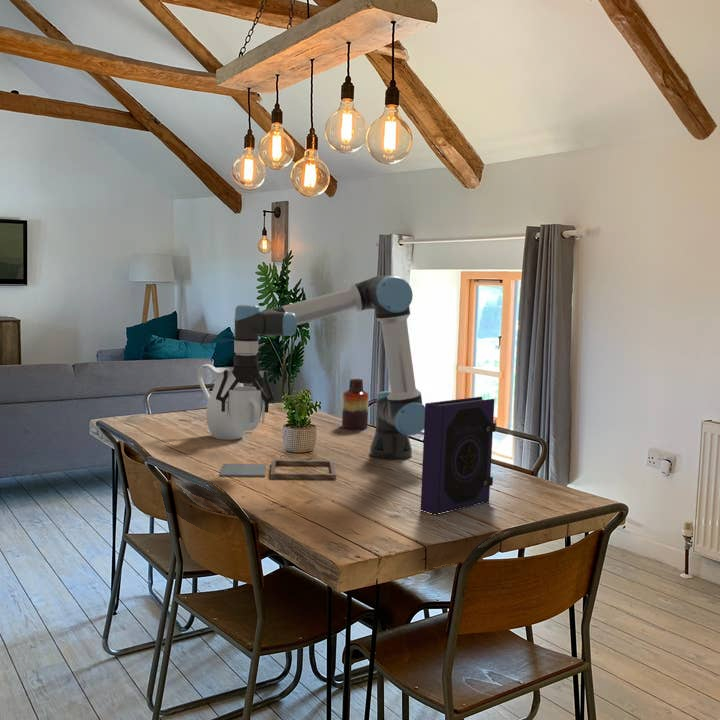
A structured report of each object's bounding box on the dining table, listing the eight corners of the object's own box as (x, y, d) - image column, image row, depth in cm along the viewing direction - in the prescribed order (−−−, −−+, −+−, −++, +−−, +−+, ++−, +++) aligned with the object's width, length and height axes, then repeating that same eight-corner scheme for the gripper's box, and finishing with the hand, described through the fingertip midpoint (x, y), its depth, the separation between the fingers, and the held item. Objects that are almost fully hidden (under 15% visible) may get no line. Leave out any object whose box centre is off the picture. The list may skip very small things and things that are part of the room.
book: (436, 516, 207) (441, 406, 204) (419, 510, 212) (424, 402, 209) (491, 501, 223) (497, 399, 220) (474, 496, 227) (480, 396, 224)
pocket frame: (332, 465, 260) (333, 460, 259) (336, 479, 241) (336, 474, 241) (272, 464, 258) (272, 459, 258) (270, 478, 240) (270, 473, 239)
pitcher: (258, 436, 301) (260, 365, 298) (229, 443, 287) (230, 369, 284) (213, 428, 314) (214, 360, 311) (183, 434, 300) (184, 363, 297)
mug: (273, 432, 243) (274, 391, 241) (241, 435, 237) (242, 393, 235) (253, 424, 255) (253, 385, 254) (222, 427, 249) (222, 387, 248)
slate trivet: (266, 465, 255) (266, 464, 255) (264, 476, 242) (265, 474, 242) (223, 465, 254) (223, 463, 254) (219, 476, 240) (219, 474, 240)
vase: (367, 430, 322) (369, 381, 319) (341, 429, 322) (343, 380, 319) (367, 425, 332) (369, 378, 330) (342, 424, 332) (344, 377, 330)
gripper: (283, 353, 249) (281, 420, 251) (209, 351, 246) (208, 419, 249) (283, 356, 241) (281, 425, 244) (207, 354, 239) (206, 423, 241)
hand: (244, 422), depth 246 cm, fingers closed on mug, 11 cm apart
